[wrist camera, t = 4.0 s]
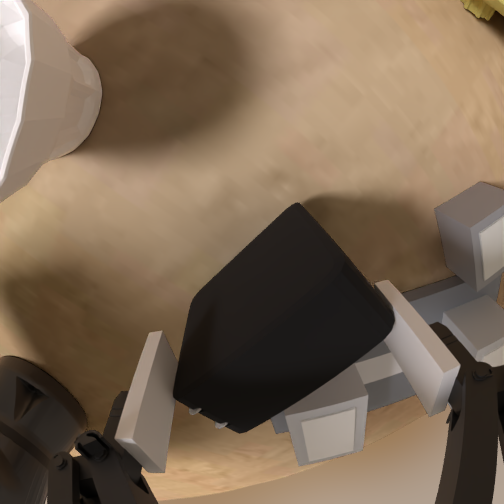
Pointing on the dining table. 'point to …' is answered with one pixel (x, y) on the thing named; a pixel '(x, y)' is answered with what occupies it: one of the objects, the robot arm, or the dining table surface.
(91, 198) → the dining table surface
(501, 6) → the plastic component
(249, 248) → the electronic device
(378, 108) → the dining table surface
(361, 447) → the board
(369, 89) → the dining table surface
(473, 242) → the module
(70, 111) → the cup
